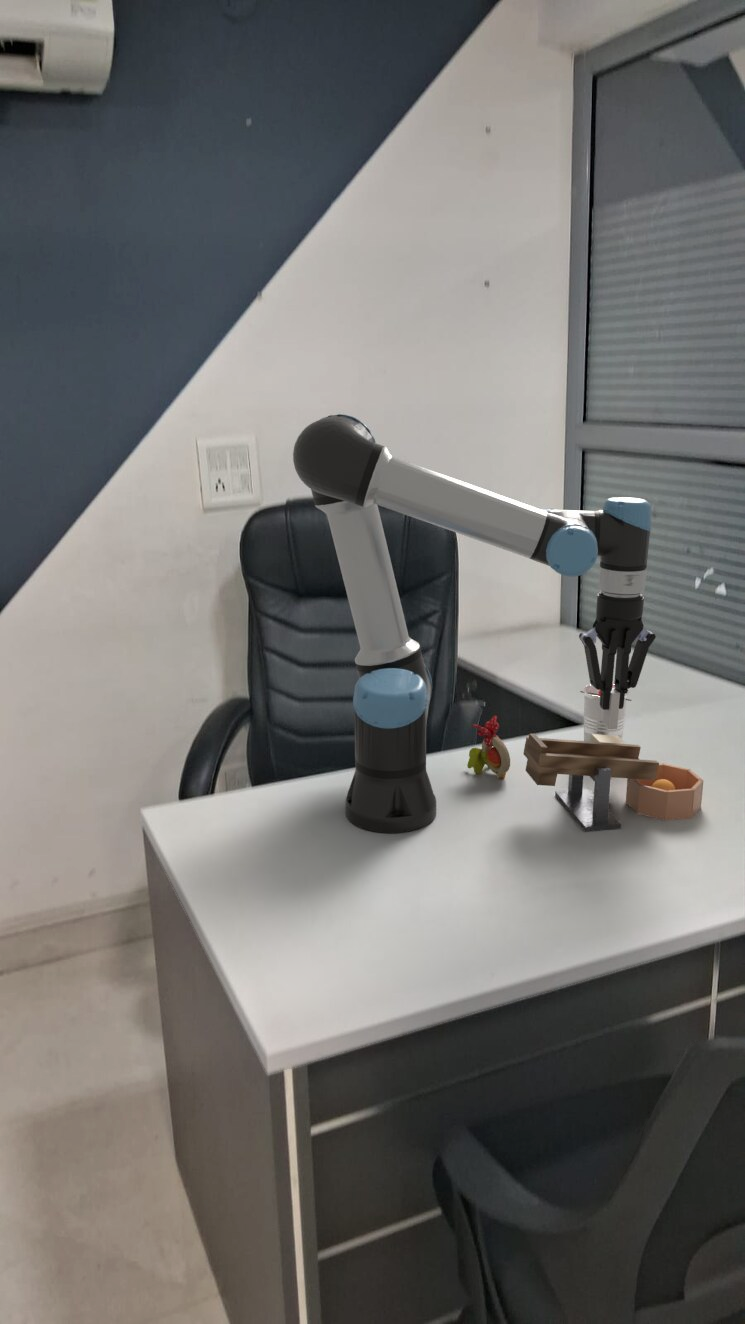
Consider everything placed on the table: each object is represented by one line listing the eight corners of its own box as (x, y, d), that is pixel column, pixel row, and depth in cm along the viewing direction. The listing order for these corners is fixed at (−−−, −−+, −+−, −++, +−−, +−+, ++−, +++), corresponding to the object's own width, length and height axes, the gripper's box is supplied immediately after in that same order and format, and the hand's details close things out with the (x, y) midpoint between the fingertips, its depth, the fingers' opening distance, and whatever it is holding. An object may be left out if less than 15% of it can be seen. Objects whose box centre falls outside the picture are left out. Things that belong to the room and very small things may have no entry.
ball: (682, 787, 166) (669, 807, 167) (662, 774, 168) (649, 794, 169) (677, 788, 163) (664, 808, 164) (656, 774, 165) (643, 794, 166)
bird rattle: (513, 783, 181) (483, 751, 186) (532, 739, 174) (500, 707, 180) (487, 792, 177) (458, 759, 183) (506, 747, 171) (474, 714, 176)
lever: (537, 788, 157) (544, 750, 155) (506, 750, 172) (512, 715, 170) (653, 795, 161) (661, 758, 159) (612, 757, 176) (620, 723, 174)
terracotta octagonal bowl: (618, 808, 165) (620, 781, 164) (642, 785, 174) (644, 759, 173) (685, 825, 159) (687, 797, 158) (707, 800, 168) (709, 773, 167)
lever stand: (585, 831, 158) (588, 773, 155) (555, 795, 171) (557, 741, 168) (621, 828, 158) (625, 770, 156) (588, 792, 172) (591, 738, 169)
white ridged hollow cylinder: (634, 747, 192) (638, 688, 188) (620, 761, 185) (624, 701, 181) (585, 737, 197) (588, 680, 193) (569, 751, 190) (572, 692, 186)
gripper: (592, 599, 159) (581, 736, 166) (668, 596, 161) (654, 732, 168) (575, 588, 166) (566, 720, 173) (648, 586, 168) (636, 716, 175)
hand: (609, 726), depth 170 cm, fingers closed
